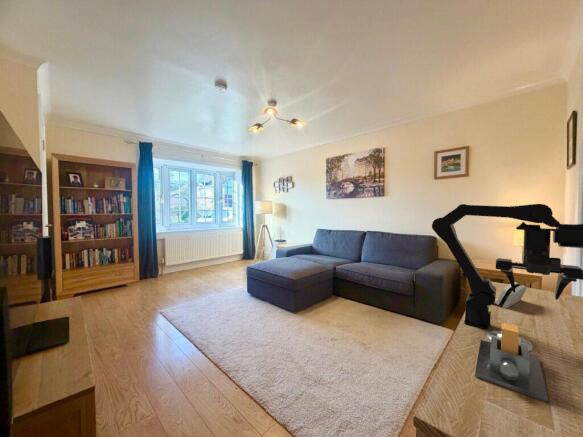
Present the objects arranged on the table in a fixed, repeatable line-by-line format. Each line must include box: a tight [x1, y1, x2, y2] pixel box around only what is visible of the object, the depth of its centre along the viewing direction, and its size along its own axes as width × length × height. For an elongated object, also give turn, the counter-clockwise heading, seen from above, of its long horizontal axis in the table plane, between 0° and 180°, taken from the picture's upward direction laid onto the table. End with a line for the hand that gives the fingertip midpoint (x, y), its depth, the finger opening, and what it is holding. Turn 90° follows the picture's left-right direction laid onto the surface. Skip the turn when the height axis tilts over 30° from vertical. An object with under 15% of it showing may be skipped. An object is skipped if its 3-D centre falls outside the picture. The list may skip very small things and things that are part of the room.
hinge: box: [491, 281, 528, 309], centre depth 102 cm, size 17×5×10 cm, turn 122°
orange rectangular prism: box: [501, 322, 520, 355], centre depth 60 cm, size 3×4×10 cm
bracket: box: [474, 330, 549, 403], centre depth 62 cm, size 12×20×6 cm, turn 139°
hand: (534, 295), depth 75 cm, fingers open, 9 cm apart
